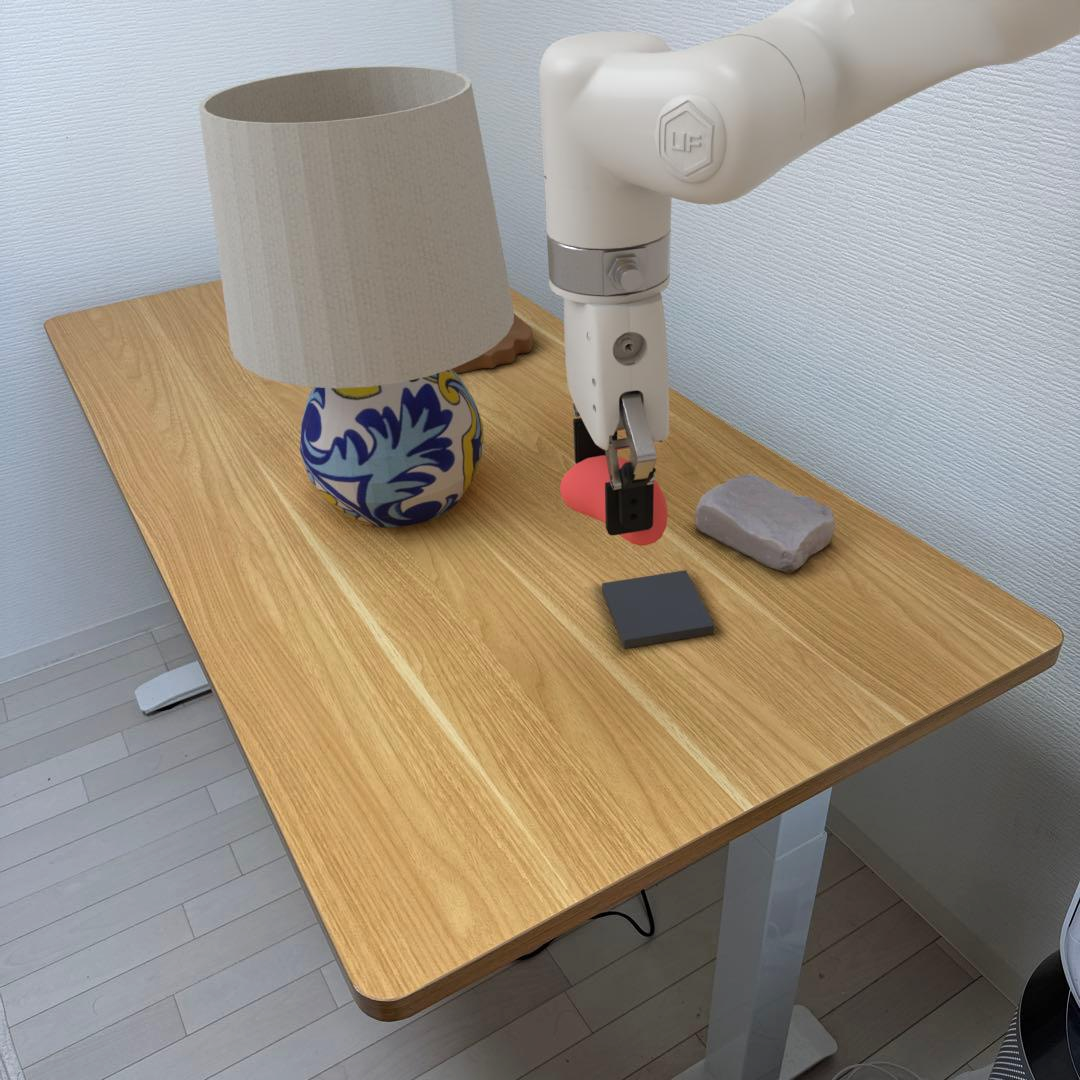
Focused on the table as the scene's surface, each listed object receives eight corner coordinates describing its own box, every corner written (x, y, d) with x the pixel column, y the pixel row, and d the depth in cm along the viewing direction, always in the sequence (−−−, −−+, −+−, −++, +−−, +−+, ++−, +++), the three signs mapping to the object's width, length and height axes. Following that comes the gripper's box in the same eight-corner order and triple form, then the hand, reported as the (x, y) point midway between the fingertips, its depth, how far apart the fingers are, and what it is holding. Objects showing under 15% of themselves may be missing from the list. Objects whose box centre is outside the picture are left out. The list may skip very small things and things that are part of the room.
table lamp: (288, 440, 114) (203, 73, 91) (515, 419, 116) (488, 52, 92) (257, 580, 92) (133, 143, 69) (537, 552, 94) (510, 114, 70)
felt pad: (685, 578, 89) (686, 569, 89) (713, 634, 83) (714, 625, 82) (601, 591, 89) (601, 583, 88) (624, 648, 82) (624, 640, 82)
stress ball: (632, 500, 76) (590, 436, 73) (698, 514, 68) (654, 444, 65) (585, 542, 74) (541, 479, 72) (647, 562, 66) (600, 492, 64)
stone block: (744, 505, 102) (684, 529, 95) (754, 464, 99) (694, 486, 93) (840, 556, 95) (783, 585, 88) (854, 513, 92) (796, 539, 86)
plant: (366, 334, 138) (354, 258, 132) (491, 306, 145) (485, 232, 138) (411, 389, 124) (399, 306, 117) (548, 356, 130) (544, 275, 123)
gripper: (715, 302, 53) (702, 556, 63) (628, 211, 67) (629, 431, 77) (583, 320, 52) (590, 575, 62) (522, 224, 66) (537, 445, 76)
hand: (611, 494), depth 69 cm, fingers closed on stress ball, 8 cm apart
